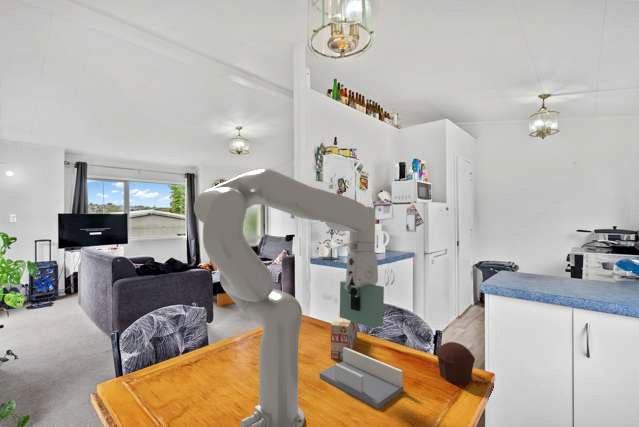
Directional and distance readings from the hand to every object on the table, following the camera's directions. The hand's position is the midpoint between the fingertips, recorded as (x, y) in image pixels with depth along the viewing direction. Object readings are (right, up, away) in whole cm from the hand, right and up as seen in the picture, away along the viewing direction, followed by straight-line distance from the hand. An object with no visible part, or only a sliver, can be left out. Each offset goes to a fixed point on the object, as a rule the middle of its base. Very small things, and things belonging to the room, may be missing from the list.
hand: (360, 307), depth 94 cm
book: (0, -4, 0) cm, 4 cm away
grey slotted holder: (0, -23, 0) cm, 23 cm away
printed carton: (-3, -23, +26) cm, 35 cm away
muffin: (+30, -23, +5) cm, 38 cm away
